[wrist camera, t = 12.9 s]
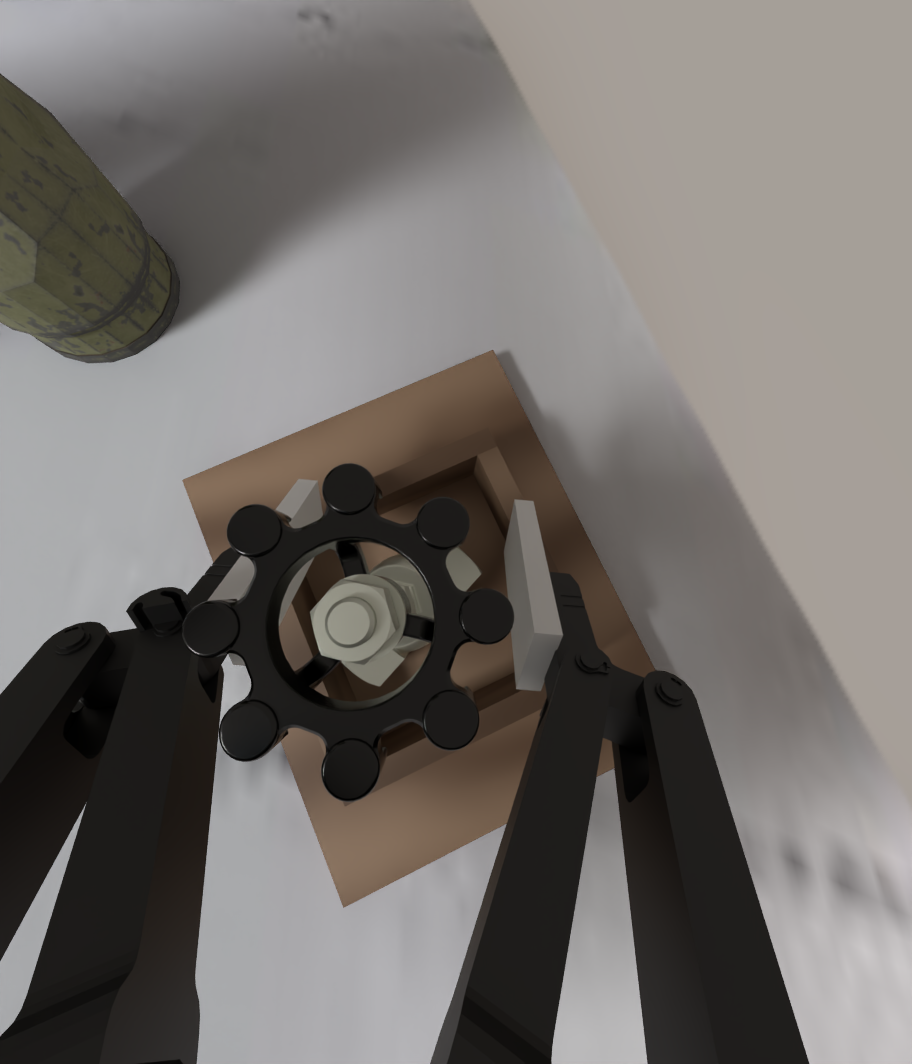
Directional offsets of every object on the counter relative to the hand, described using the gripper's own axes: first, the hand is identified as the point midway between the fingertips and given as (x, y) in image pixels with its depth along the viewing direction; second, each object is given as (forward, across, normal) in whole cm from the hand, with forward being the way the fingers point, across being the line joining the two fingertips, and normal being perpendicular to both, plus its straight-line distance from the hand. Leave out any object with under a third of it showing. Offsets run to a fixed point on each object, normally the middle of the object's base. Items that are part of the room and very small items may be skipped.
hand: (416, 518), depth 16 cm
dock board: (+1, +1, -6) cm, 6 cm away
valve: (+1, 0, -6) cm, 6 cm away
